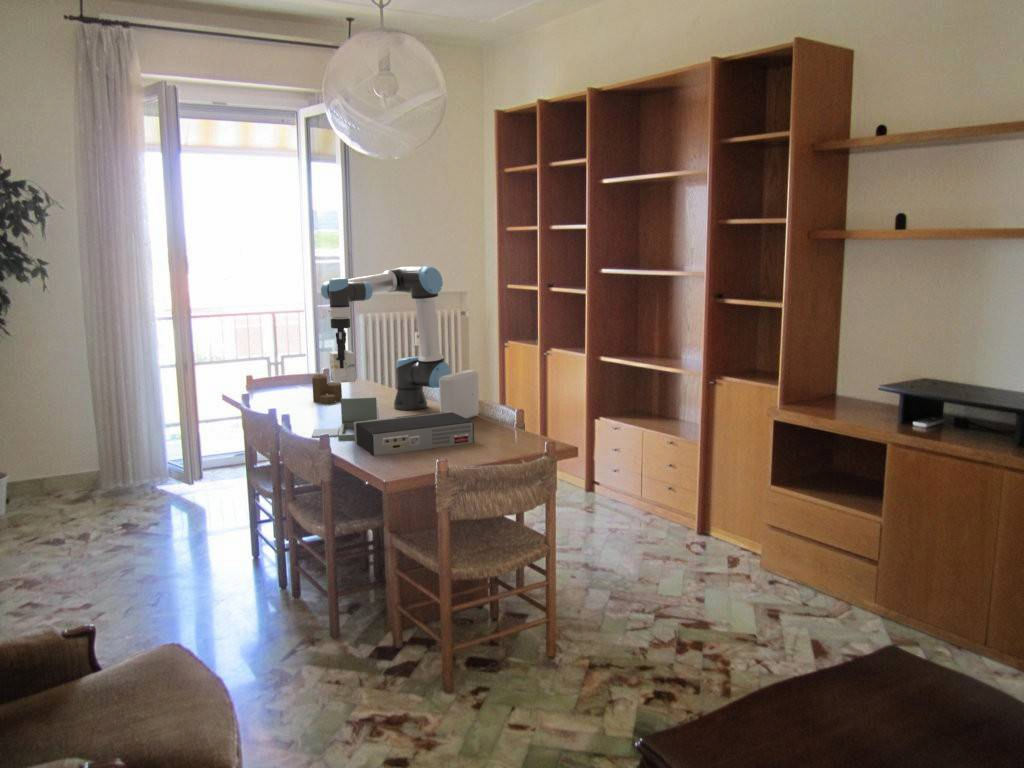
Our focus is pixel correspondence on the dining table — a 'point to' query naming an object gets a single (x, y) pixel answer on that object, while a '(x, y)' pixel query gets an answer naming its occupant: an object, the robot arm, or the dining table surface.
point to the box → (413, 432)
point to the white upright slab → (460, 393)
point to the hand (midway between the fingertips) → (342, 374)
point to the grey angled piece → (356, 413)
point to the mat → (331, 432)
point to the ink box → (348, 365)
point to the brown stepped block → (325, 390)
